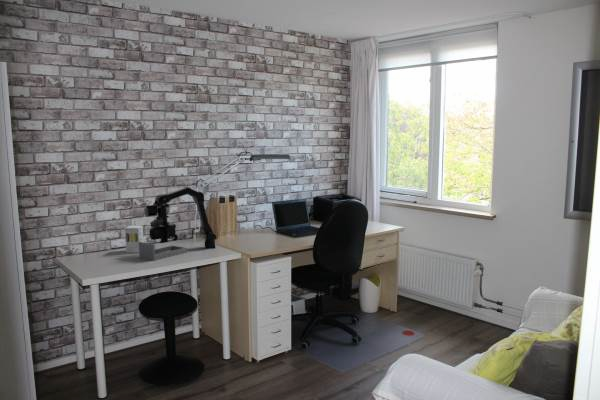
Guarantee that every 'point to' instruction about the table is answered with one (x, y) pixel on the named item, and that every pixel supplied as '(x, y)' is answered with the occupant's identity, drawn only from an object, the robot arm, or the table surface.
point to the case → (158, 251)
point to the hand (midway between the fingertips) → (163, 238)
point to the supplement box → (133, 238)
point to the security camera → (162, 234)
